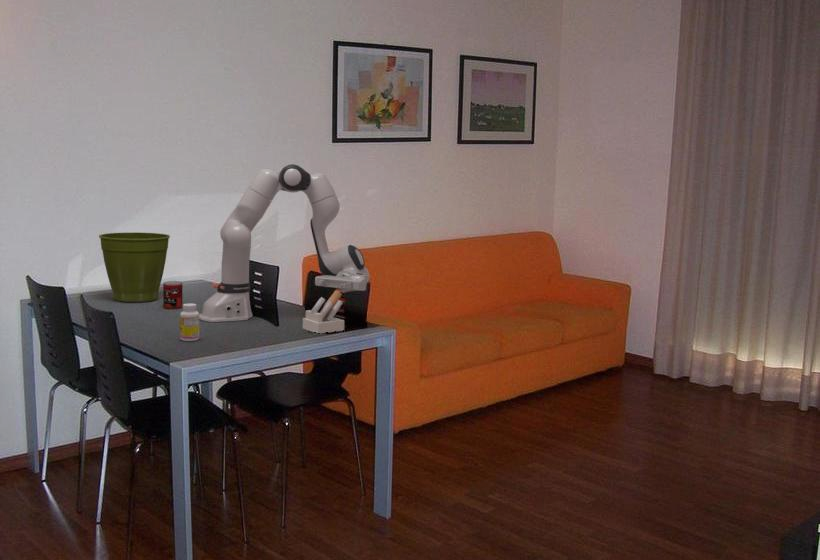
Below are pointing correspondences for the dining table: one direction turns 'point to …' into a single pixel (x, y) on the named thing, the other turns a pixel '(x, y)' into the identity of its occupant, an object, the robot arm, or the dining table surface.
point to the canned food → (172, 295)
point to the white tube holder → (317, 320)
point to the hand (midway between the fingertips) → (331, 285)
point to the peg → (333, 301)
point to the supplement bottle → (189, 323)
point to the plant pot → (134, 264)
